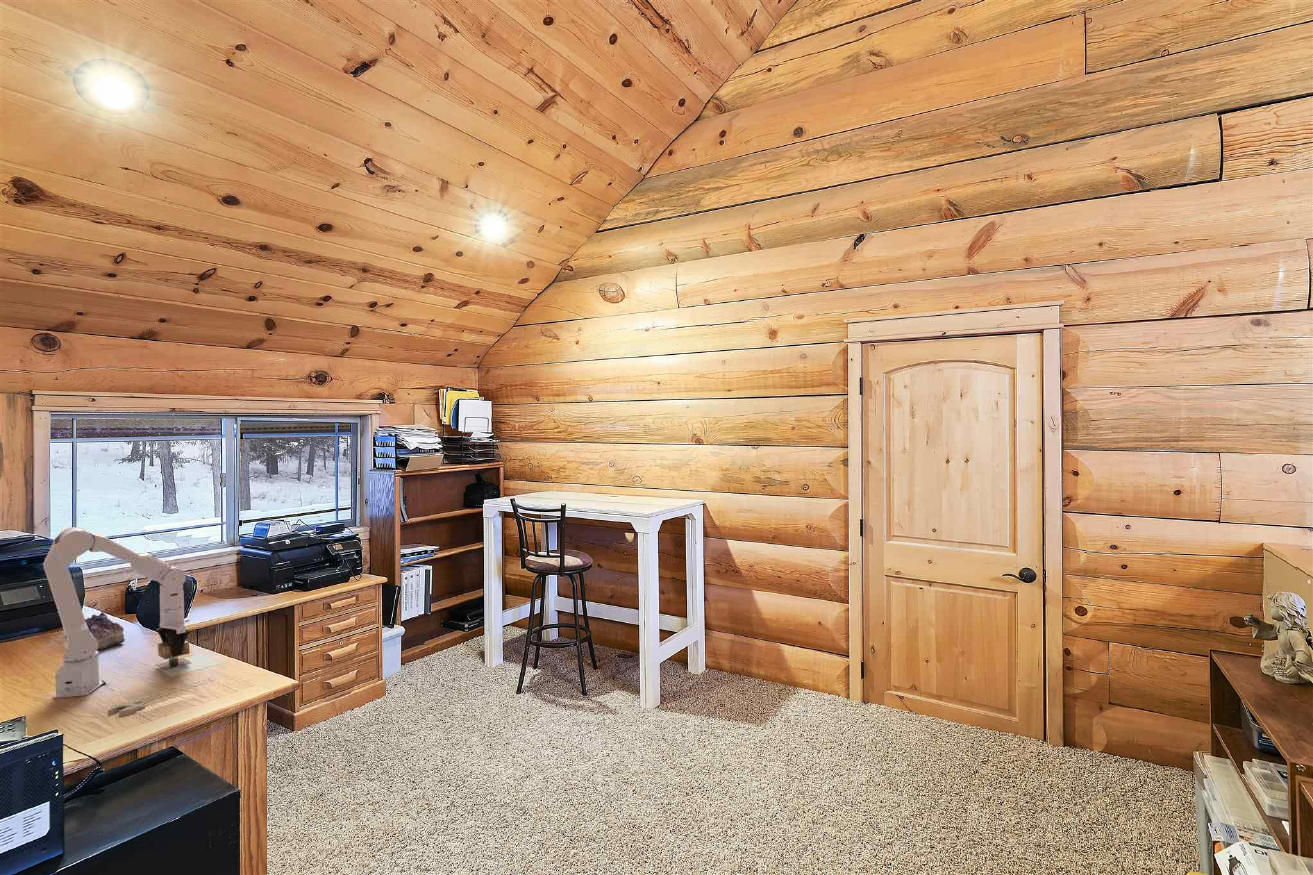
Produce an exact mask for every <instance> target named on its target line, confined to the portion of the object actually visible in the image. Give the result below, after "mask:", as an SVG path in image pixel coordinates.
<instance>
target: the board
mask: <svg viewBox="0 0 1313 875" xmlns="http://www.w3.org/2000/svg"><path fill="white" fill-rule="evenodd" d="M184 658H185V659H186V660H188V661H190V662H191V663H190V664H187V665H183V666H179V667H175V668H171V669H167V670H162V669H161V668H159V667H158V666H156V665H154V666H153V667H154V668H156V669H158V671H160V672H161V673H163V674H165V675H166V676H168V677H169V678H172V677H177V676H180V675H184V674H189V673H191V672H195V671H199V670H202V669H207V668H209V667H214V666H219V663H217V661H214V660H212V659H211V658H209V657H207V656H205V655H203V654H196V655H192V656H188V657H184Z"/></svg>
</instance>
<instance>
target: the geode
mask: <svg viewBox="0 0 1313 875" xmlns="http://www.w3.org/2000/svg"><path fill="white" fill-rule="evenodd" d="M85 621H86V624H87V626H88V629H89V631H90V632H91V633H92V635H93V637H94V638H96V640H97V641H98V649H97V651H99V650H103V649H106V648H109V647H113V646H115V645H119V644H121V643H124V642H125V635H124V631H125V629H124V627H123V626H122V625H121V624H120V623H118V622H113V621H112V620H111V619H110V618H109V617H108V616H107V614H106V613H104V612H102V611H101V612H100V614H98V615H97V614H92V615H91V617H87V618H85Z"/></svg>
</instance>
